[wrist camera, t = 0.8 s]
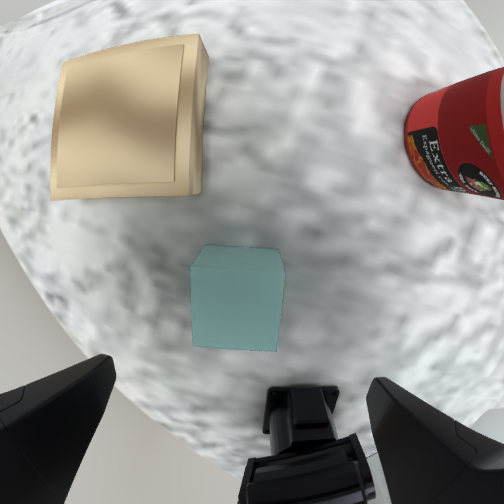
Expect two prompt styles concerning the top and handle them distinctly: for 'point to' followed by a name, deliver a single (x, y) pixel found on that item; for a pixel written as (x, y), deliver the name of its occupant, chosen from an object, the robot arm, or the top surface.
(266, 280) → the teal cube
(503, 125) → the canned food
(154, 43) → the bamboo box
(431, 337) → the top surface
